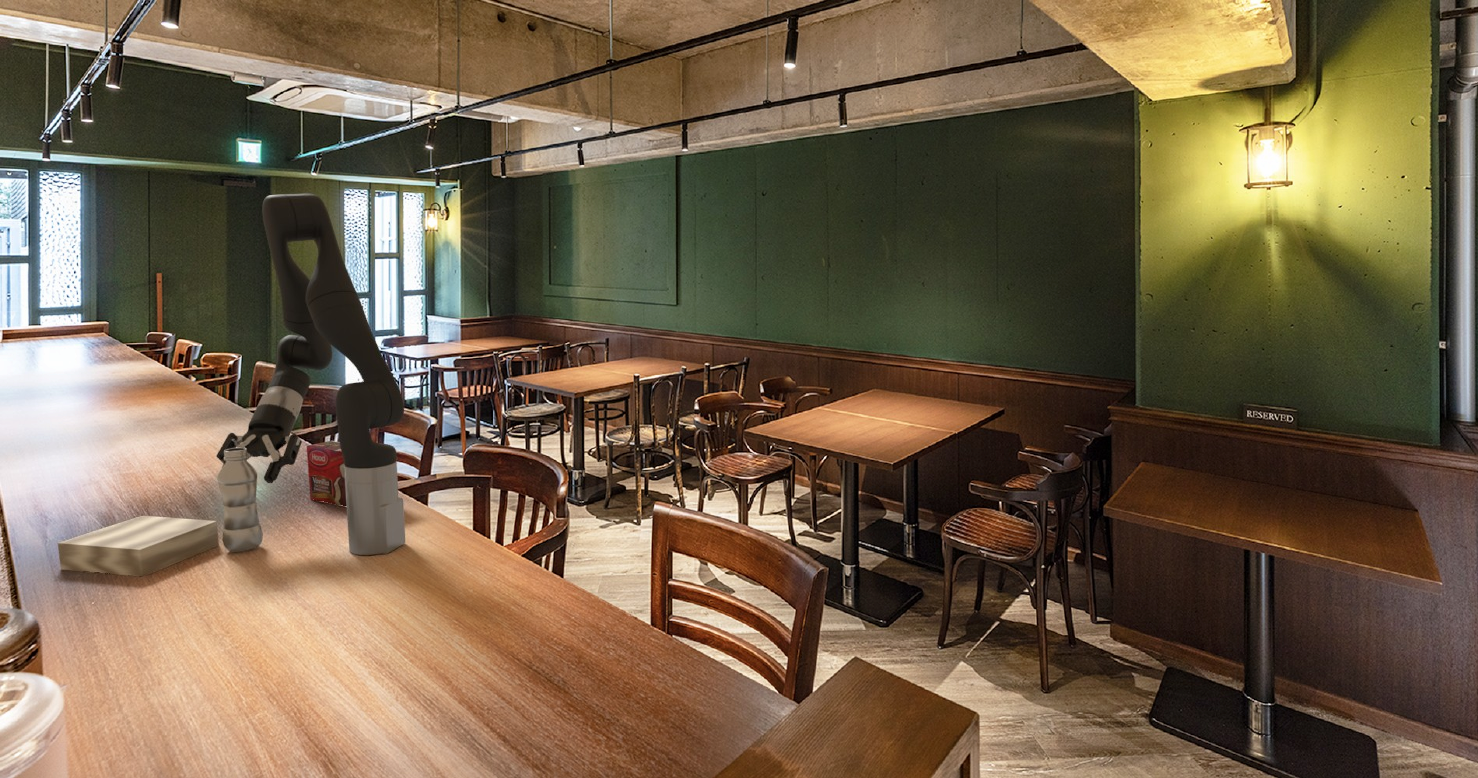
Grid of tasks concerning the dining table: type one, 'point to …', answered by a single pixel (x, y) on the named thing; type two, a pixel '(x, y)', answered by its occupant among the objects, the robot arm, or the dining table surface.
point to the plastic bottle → (239, 502)
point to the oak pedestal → (138, 545)
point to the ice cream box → (326, 473)
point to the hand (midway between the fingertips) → (245, 481)
